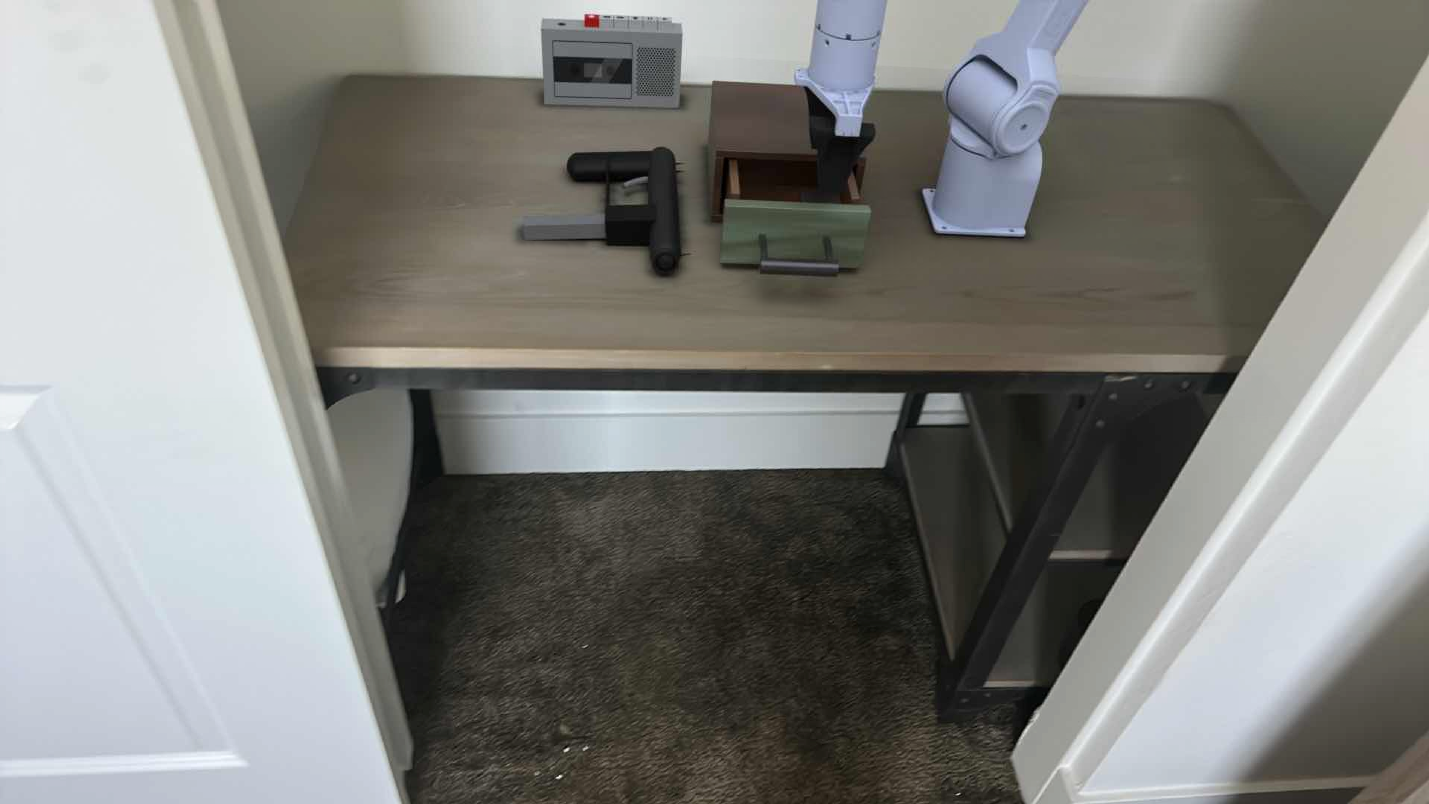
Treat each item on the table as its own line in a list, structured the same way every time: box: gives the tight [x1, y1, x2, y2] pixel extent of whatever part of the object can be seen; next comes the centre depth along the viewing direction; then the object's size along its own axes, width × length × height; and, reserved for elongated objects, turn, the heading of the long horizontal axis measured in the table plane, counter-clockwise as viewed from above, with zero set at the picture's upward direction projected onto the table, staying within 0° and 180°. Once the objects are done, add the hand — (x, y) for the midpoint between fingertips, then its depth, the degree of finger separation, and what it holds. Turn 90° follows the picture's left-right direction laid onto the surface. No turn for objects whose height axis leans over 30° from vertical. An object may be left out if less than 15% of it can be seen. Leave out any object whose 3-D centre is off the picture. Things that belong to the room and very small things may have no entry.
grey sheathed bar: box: [799, 192, 841, 204], centre depth 100 cm, size 9×2×3 cm, turn 92°
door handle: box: [522, 146, 692, 275], centre depth 103 cm, size 3×20×16 cm
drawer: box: [719, 157, 872, 278], centre depth 99 cm, size 19×13×6 cm
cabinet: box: [707, 80, 868, 223], centre depth 107 cm, size 15×15×8 cm
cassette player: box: [540, 13, 684, 109], centre depth 118 cm, size 16×3×10 cm, turn 94°
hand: (825, 168), depth 97 cm, fingers open, 7 cm apart
